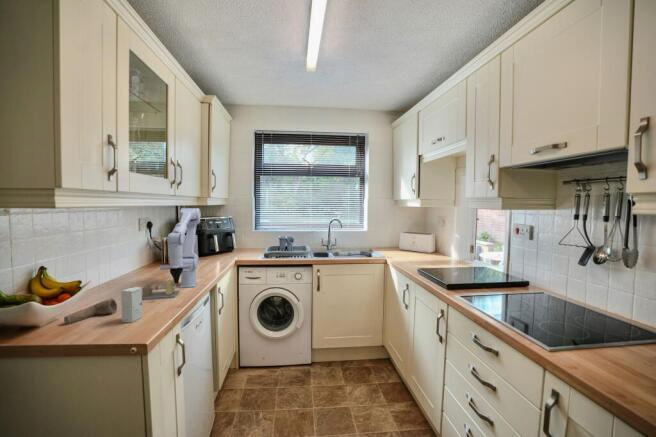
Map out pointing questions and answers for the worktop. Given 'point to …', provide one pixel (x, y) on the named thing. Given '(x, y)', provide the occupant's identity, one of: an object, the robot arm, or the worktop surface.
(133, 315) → the skincare box
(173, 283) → the collar
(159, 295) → the rail
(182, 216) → the robot arm
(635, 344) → the worktop surface
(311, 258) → the worktop surface
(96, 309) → the pipe
